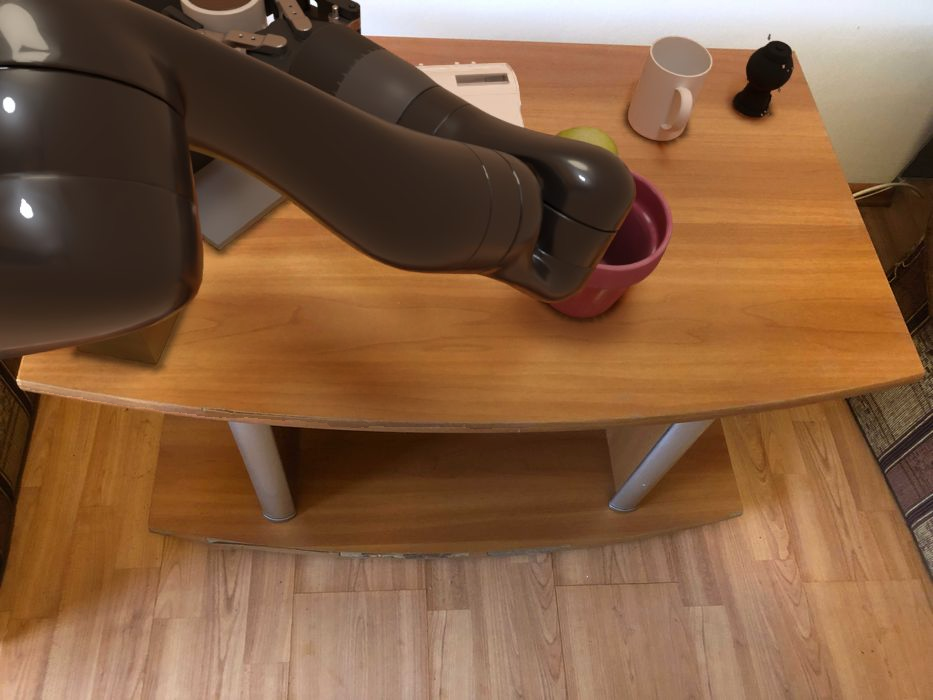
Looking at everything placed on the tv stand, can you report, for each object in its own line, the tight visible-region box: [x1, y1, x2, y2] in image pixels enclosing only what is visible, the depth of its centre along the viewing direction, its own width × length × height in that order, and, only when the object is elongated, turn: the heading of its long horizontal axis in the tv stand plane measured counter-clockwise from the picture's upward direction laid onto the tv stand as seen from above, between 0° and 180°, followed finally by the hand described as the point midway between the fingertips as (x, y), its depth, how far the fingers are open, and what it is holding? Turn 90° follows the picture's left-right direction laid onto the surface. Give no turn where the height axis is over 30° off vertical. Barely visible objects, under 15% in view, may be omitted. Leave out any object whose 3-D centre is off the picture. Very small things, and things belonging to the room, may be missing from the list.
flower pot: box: [548, 167, 674, 319], centre depth 79 cm, size 14×14×13 cm
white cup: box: [180, 0, 269, 54], centre depth 58 cm, size 6×6×9 cm
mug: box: [627, 35, 713, 142], centre depth 95 cm, size 12×8×10 cm, turn 0°
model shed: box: [414, 61, 525, 128], centre depth 92 cm, size 25×15×7 cm, turn 100°
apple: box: [555, 126, 619, 157], centre depth 90 cm, size 8×9×8 cm
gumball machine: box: [732, 33, 795, 119], centre depth 99 cm, size 7×6×10 cm
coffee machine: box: [129, 0, 287, 251], centre depth 77 cm, size 16×12×24 cm
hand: (202, 0), depth 56 cm, fingers closed on white cup, 6 cm apart
